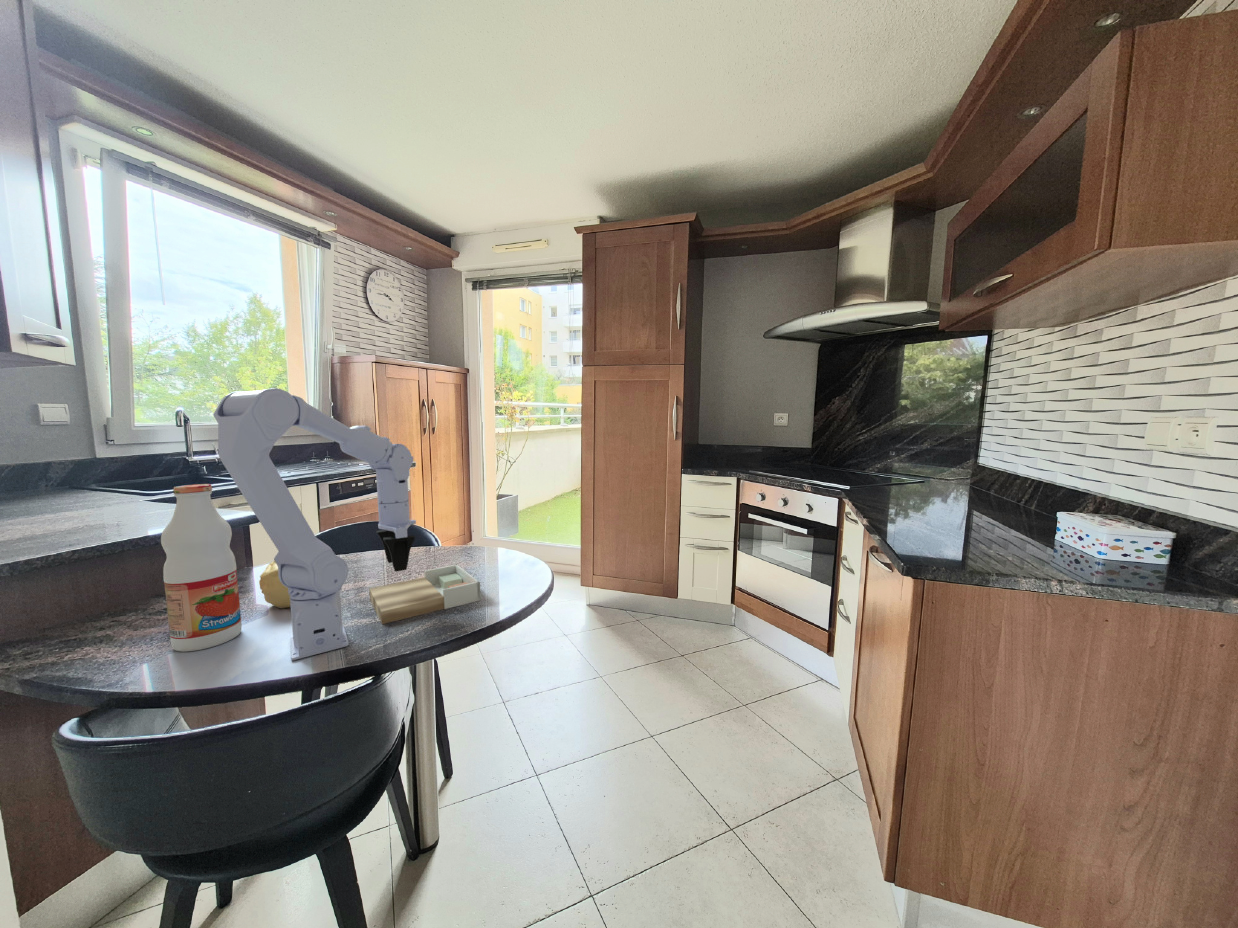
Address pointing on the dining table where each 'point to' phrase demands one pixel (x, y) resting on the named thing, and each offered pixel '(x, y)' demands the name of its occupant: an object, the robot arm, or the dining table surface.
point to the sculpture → (274, 587)
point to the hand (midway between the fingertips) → (397, 565)
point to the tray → (458, 593)
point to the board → (405, 599)
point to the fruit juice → (199, 573)
